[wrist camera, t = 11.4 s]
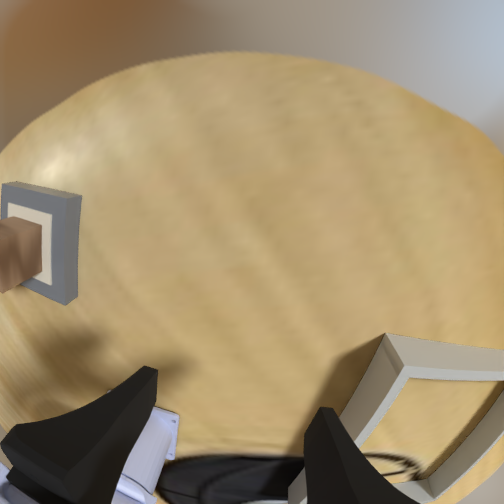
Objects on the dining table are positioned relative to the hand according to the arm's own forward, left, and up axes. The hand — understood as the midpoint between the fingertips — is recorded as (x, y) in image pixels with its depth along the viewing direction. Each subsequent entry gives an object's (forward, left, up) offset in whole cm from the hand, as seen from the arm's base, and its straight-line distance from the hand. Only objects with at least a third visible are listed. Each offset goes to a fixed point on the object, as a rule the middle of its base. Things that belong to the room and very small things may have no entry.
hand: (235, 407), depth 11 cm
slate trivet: (0, +20, -10) cm, 22 cm away
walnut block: (0, +20, -8) cm, 21 cm away
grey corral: (-13, -23, -10) cm, 28 cm away
